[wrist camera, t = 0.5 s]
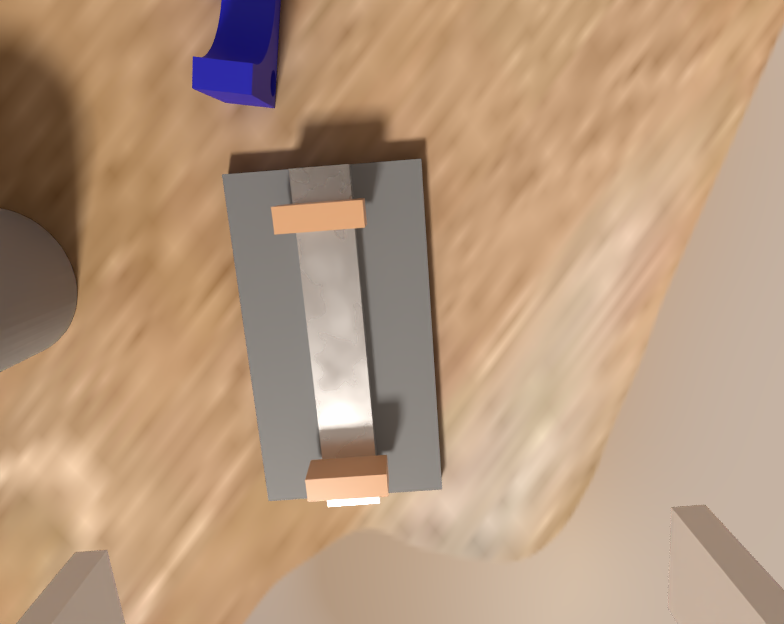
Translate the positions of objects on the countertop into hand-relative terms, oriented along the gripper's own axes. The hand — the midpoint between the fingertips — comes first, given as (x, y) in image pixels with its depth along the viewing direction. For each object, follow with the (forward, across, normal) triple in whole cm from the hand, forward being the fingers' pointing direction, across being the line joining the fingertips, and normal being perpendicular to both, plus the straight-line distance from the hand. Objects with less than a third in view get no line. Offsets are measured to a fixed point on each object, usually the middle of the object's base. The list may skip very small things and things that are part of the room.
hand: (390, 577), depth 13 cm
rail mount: (+25, -4, -1) cm, 25 cm away
